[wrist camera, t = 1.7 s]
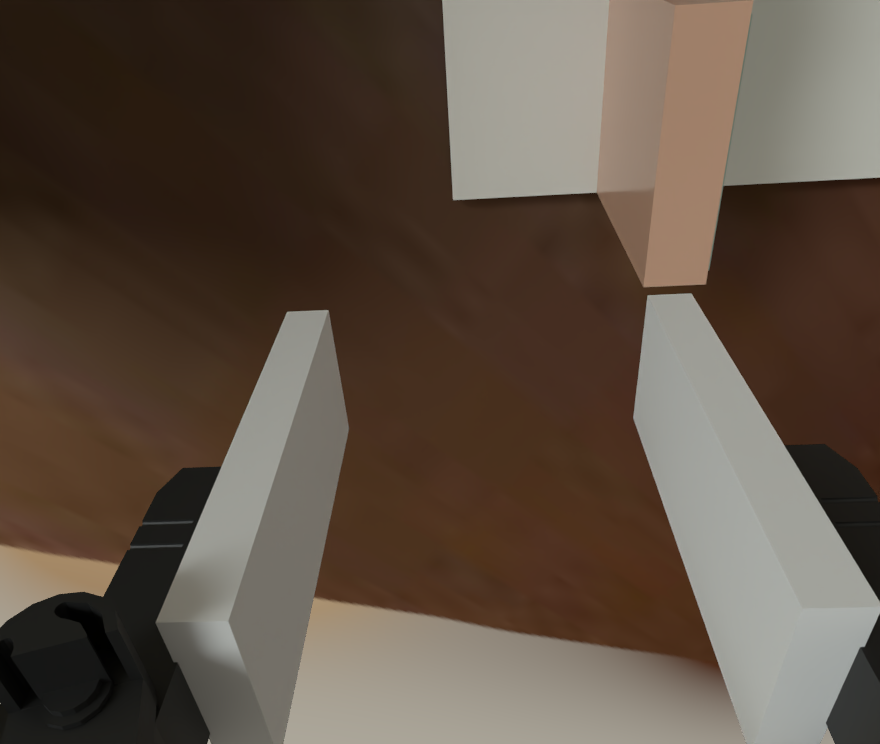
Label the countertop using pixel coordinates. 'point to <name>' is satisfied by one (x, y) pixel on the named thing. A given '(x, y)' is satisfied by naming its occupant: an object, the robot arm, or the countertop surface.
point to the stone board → (582, 81)
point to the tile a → (669, 129)
